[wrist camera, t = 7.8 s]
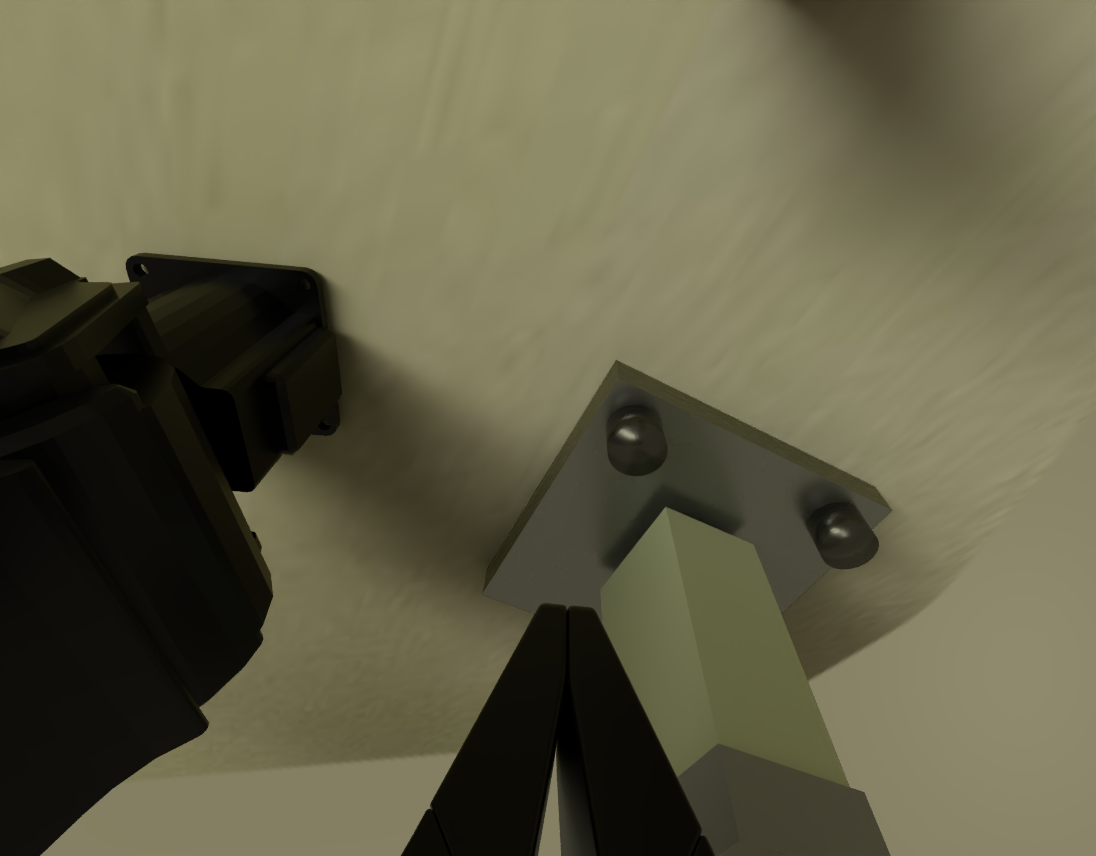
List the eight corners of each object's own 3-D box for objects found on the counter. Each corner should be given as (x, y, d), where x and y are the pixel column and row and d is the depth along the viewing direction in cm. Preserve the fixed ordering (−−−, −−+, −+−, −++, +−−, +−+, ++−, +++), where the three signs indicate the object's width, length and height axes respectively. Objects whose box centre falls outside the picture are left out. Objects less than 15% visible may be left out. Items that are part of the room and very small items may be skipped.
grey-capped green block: (593, 591, 24) (612, 1005, 13) (664, 501, 21) (759, 928, 10) (683, 624, 24) (768, 1038, 14) (761, 542, 22) (939, 974, 11)
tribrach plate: (486, 569, 26) (476, 621, 24) (616, 360, 21) (621, 398, 18) (703, 653, 29) (716, 709, 26) (874, 486, 23) (912, 537, 20)
